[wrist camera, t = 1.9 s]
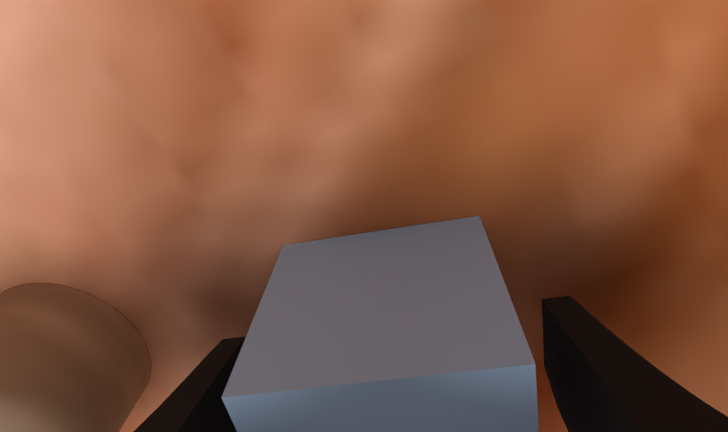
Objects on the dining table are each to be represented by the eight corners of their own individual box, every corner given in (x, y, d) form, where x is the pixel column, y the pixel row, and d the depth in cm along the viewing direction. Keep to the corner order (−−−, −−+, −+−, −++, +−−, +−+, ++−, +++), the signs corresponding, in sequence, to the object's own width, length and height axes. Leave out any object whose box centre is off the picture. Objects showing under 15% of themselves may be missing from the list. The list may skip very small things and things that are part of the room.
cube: (479, 214, 11) (535, 364, 7) (494, 365, 14) (545, 553, 9) (283, 243, 12) (221, 397, 8) (328, 382, 14) (299, 566, 10)
